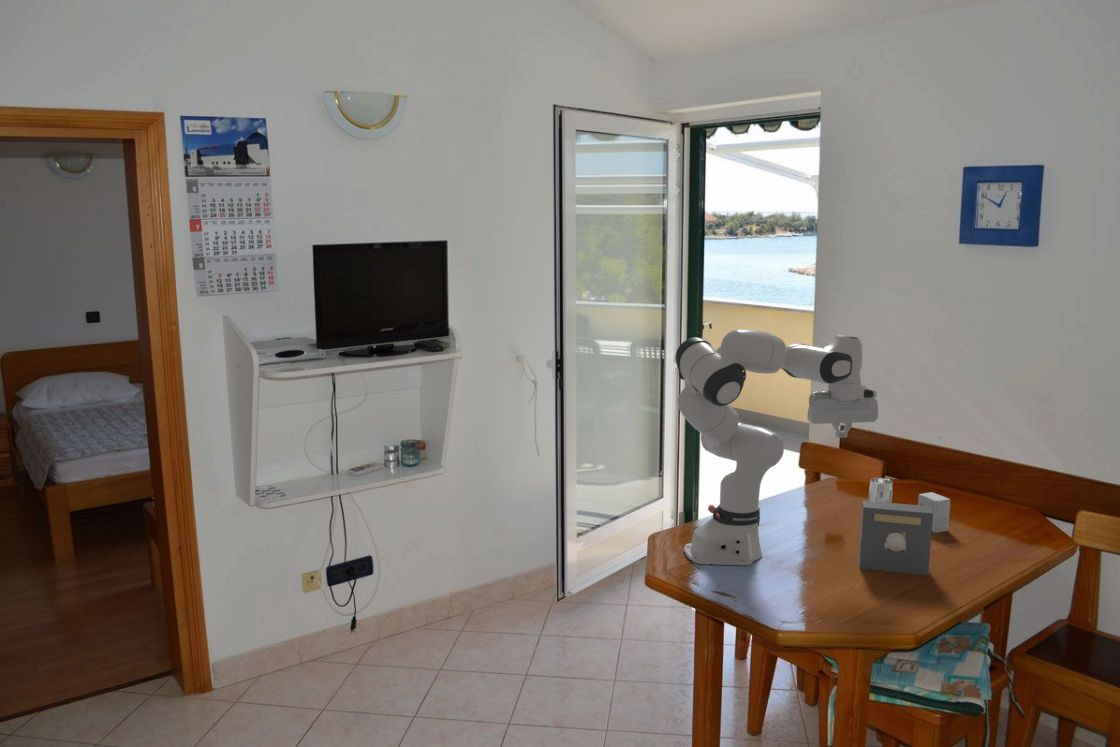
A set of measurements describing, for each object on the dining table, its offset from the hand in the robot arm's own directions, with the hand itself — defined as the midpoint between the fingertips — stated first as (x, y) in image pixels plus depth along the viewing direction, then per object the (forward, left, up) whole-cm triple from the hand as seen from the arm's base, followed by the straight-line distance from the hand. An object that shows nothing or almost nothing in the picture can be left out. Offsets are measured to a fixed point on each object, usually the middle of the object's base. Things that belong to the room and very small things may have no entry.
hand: (841, 437), depth 259 cm
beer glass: (+22, +16, -34) cm, 44 cm away
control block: (+10, -16, -34) cm, 39 cm away
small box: (+38, +12, -34) cm, 53 cm away
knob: (+11, -15, -28) cm, 33 cm away
